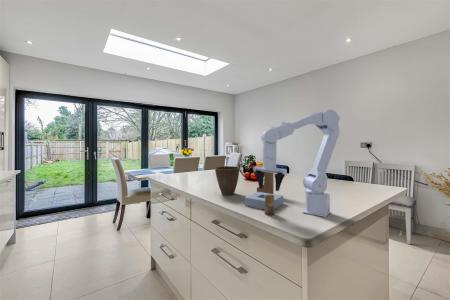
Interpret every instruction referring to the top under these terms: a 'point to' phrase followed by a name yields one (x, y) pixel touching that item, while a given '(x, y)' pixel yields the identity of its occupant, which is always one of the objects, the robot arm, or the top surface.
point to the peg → (269, 204)
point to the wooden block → (267, 184)
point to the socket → (262, 200)
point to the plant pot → (227, 179)
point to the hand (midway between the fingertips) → (269, 189)
